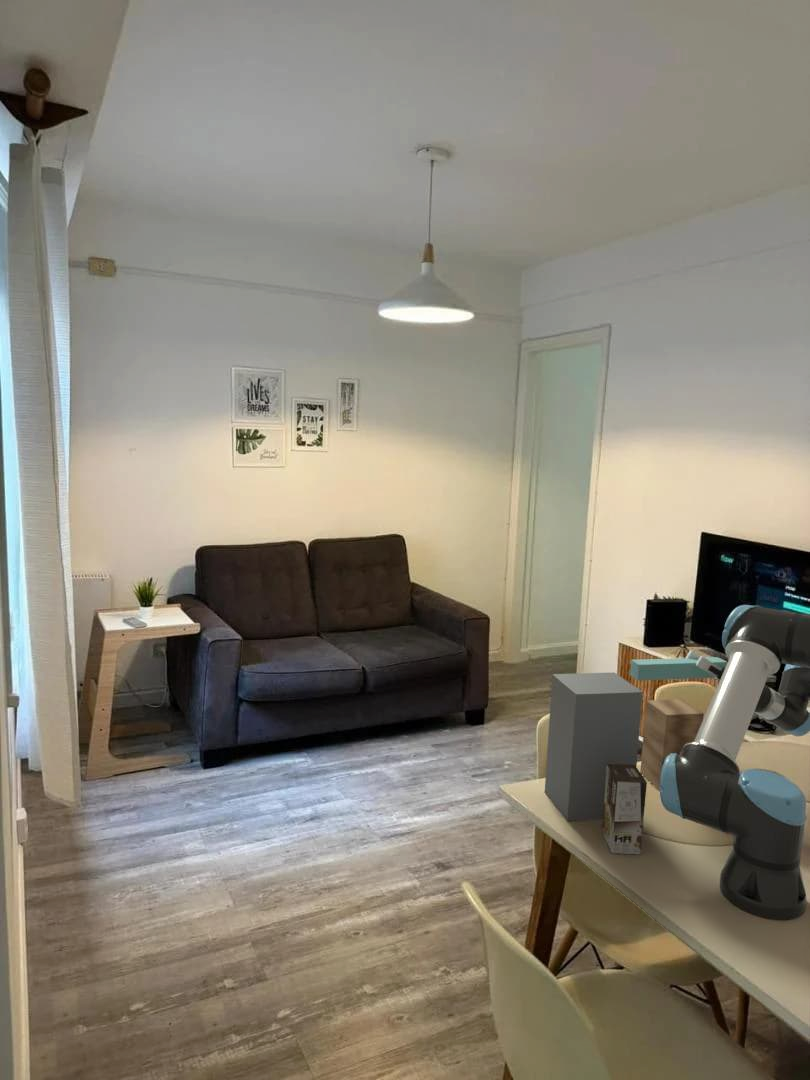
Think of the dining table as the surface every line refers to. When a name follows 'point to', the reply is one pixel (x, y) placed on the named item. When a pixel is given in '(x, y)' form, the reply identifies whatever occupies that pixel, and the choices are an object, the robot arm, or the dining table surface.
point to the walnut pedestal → (666, 734)
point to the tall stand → (589, 739)
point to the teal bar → (671, 668)
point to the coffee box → (624, 808)
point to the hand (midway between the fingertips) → (693, 657)
